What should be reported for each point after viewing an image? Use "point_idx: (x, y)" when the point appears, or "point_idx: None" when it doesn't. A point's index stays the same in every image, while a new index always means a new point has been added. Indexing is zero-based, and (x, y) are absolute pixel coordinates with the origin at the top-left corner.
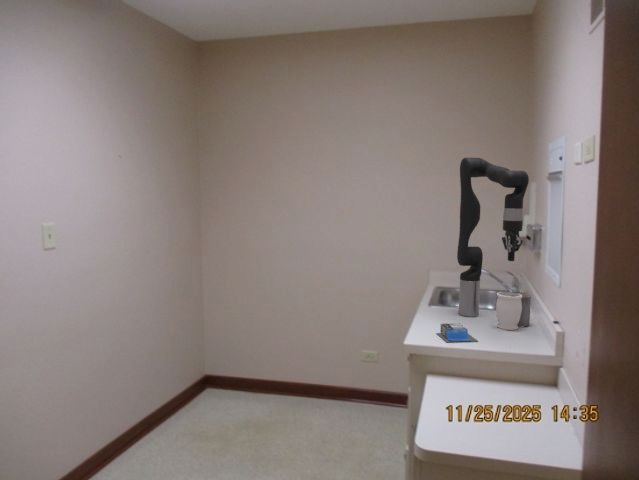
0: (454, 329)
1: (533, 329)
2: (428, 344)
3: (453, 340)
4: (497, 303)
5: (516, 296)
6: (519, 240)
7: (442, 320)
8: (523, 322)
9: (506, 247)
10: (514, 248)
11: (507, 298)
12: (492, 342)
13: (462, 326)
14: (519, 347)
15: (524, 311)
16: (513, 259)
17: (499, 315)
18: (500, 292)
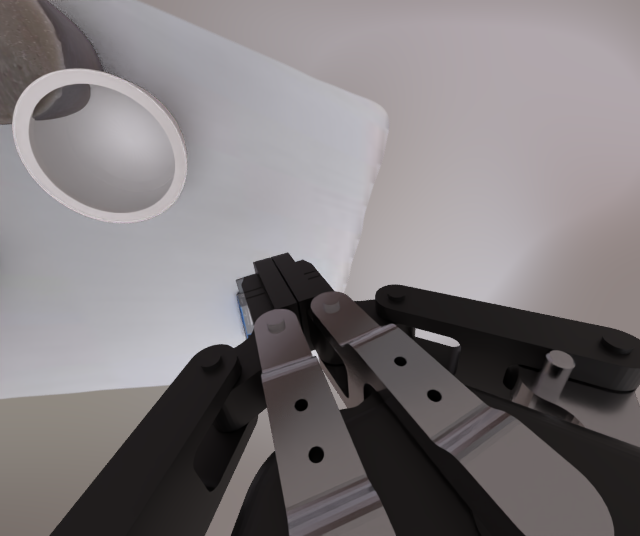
0: None
1: (131, 25)
2: None
3: None
4: (139, 207)
5: (166, 132)
6: (628, 390)
7: (104, 336)
8: (94, 56)
9: (253, 421)
10: (440, 345)
11: (182, 183)
12: (305, 228)
13: None
14: (339, 172)
15: (80, 45)
16: (307, 267)
17: (160, 188)
18: (65, 195)
